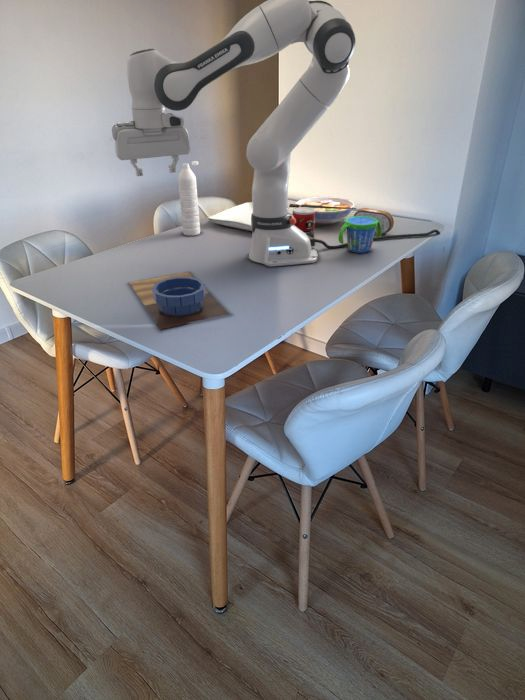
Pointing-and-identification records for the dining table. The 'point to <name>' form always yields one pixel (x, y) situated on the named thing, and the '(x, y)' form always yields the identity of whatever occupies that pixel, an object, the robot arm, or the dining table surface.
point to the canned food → (305, 219)
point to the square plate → (237, 216)
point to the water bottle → (189, 200)
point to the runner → (145, 287)
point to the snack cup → (360, 233)
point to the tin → (378, 218)
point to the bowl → (179, 295)
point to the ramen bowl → (327, 208)
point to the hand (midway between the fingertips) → (156, 174)
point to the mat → (207, 311)
